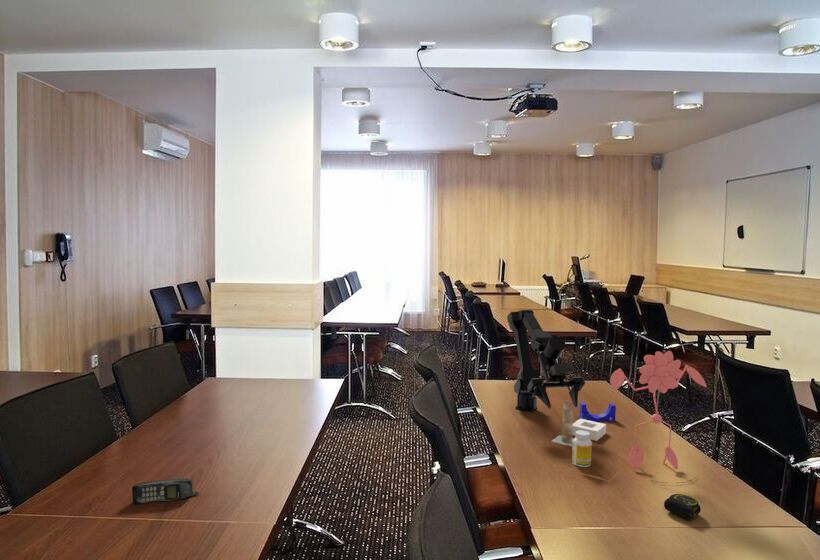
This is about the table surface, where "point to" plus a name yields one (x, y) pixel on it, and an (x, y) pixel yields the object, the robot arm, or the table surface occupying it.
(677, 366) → the figurine
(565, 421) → the peg
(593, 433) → the block
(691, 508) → the tape measure
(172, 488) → the mobile phone
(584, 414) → the cable clip
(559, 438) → the mat
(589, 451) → the supplement bottle
